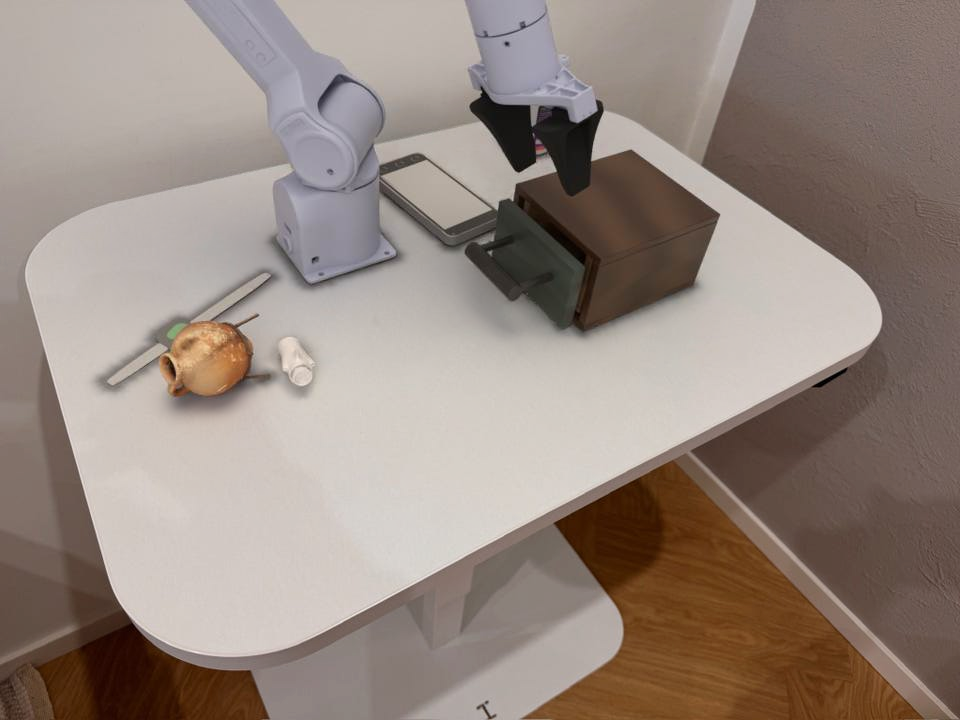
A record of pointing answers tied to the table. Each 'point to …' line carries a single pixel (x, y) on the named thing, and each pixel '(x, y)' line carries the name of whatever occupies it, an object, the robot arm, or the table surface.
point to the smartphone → (436, 198)
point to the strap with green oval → (172, 329)
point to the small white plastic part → (295, 361)
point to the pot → (208, 358)
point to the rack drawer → (534, 262)
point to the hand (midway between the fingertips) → (551, 178)
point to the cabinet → (626, 232)
